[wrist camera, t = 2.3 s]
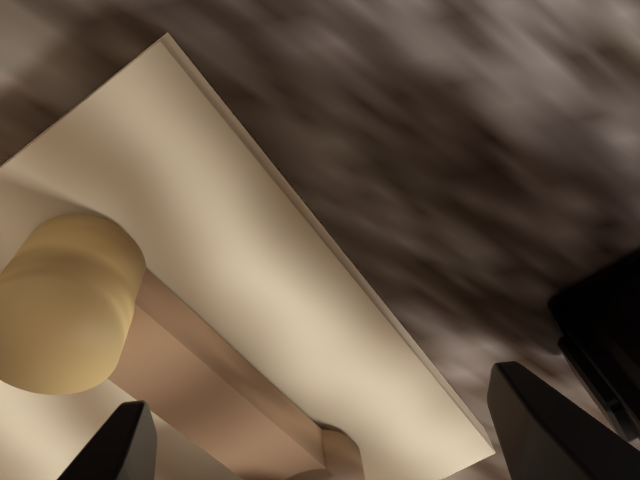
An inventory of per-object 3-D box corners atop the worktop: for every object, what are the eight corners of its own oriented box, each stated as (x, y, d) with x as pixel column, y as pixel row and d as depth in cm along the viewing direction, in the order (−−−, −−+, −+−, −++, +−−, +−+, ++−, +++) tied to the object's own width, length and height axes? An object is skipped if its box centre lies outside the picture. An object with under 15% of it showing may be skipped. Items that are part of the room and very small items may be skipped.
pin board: (167, 32, 16) (113, 91, 10) (484, 428, 27) (547, 567, 21) (-279, 390, 21) (-490, 570, 15) (142, 599, 33) (116, 750, 27)
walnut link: (377, 463, 25) (396, 547, 22) (303, 501, 26) (309, 587, 23) (87, 188, 17) (43, 255, 13) (-8, 259, 17) (-72, 339, 14)
